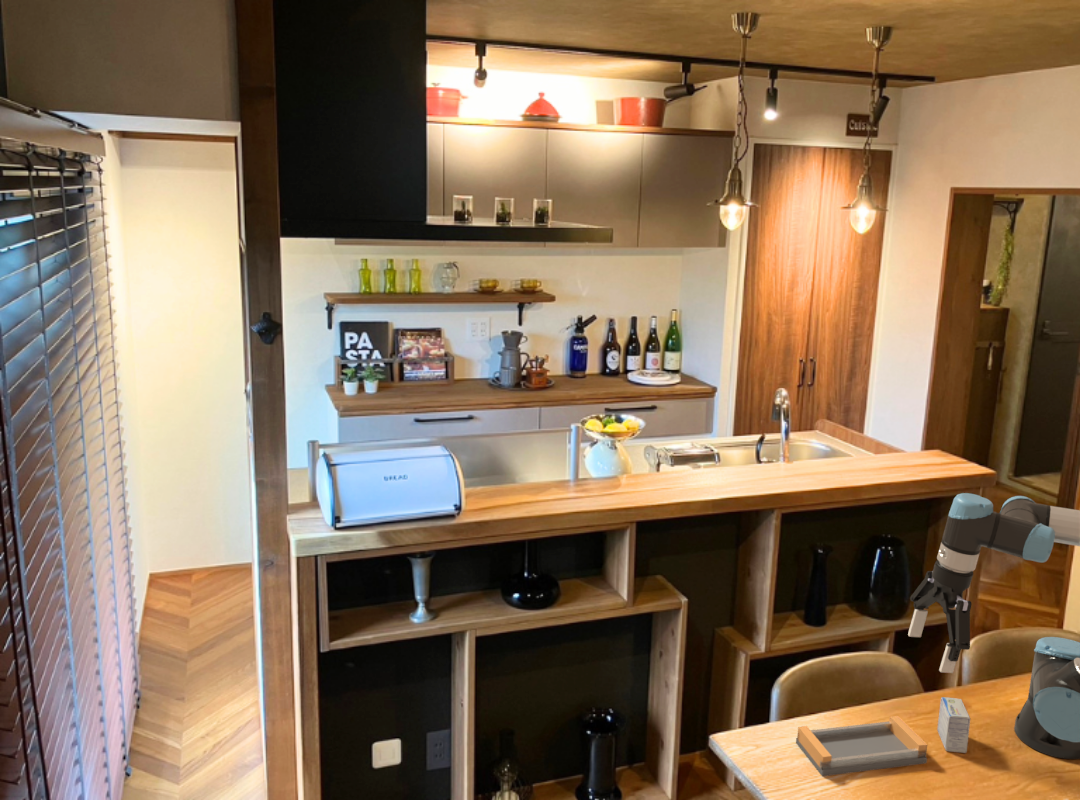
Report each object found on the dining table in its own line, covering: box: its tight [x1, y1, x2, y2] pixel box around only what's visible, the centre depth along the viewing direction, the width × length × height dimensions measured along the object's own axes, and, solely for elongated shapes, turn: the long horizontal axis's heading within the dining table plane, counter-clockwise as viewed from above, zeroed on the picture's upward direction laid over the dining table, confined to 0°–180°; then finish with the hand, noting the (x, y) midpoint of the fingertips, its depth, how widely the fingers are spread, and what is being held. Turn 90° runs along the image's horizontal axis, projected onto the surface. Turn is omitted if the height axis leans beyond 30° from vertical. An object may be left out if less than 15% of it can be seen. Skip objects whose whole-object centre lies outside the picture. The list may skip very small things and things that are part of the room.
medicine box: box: [936, 696, 971, 754], centre depth 195 cm, size 8×4×9 cm, turn 168°
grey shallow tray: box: [795, 715, 928, 777], centre depth 191 cm, size 24×12×4 cm, turn 101°
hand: (929, 653), depth 193 cm, fingers open, 13 cm apart
